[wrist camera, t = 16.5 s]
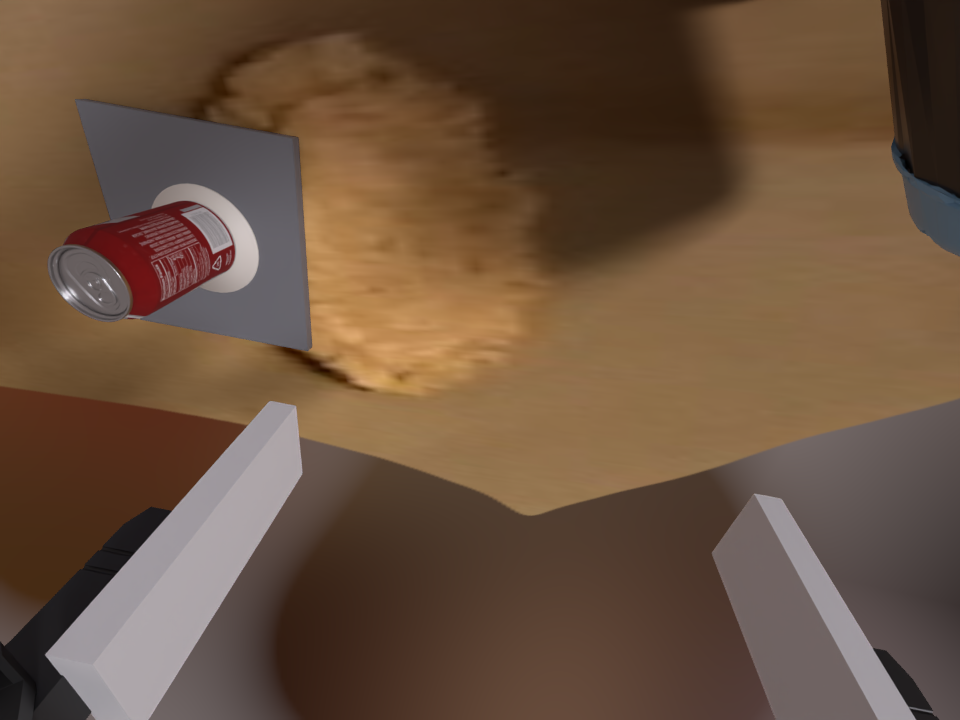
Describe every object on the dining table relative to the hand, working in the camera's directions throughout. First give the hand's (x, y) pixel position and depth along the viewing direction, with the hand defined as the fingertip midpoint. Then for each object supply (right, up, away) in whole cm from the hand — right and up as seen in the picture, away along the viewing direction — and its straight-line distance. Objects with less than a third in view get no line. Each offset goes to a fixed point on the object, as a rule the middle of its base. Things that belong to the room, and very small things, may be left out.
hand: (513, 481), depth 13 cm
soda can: (-26, +15, +27) cm, 40 cm away
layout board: (-26, +15, +28) cm, 41 cm away
